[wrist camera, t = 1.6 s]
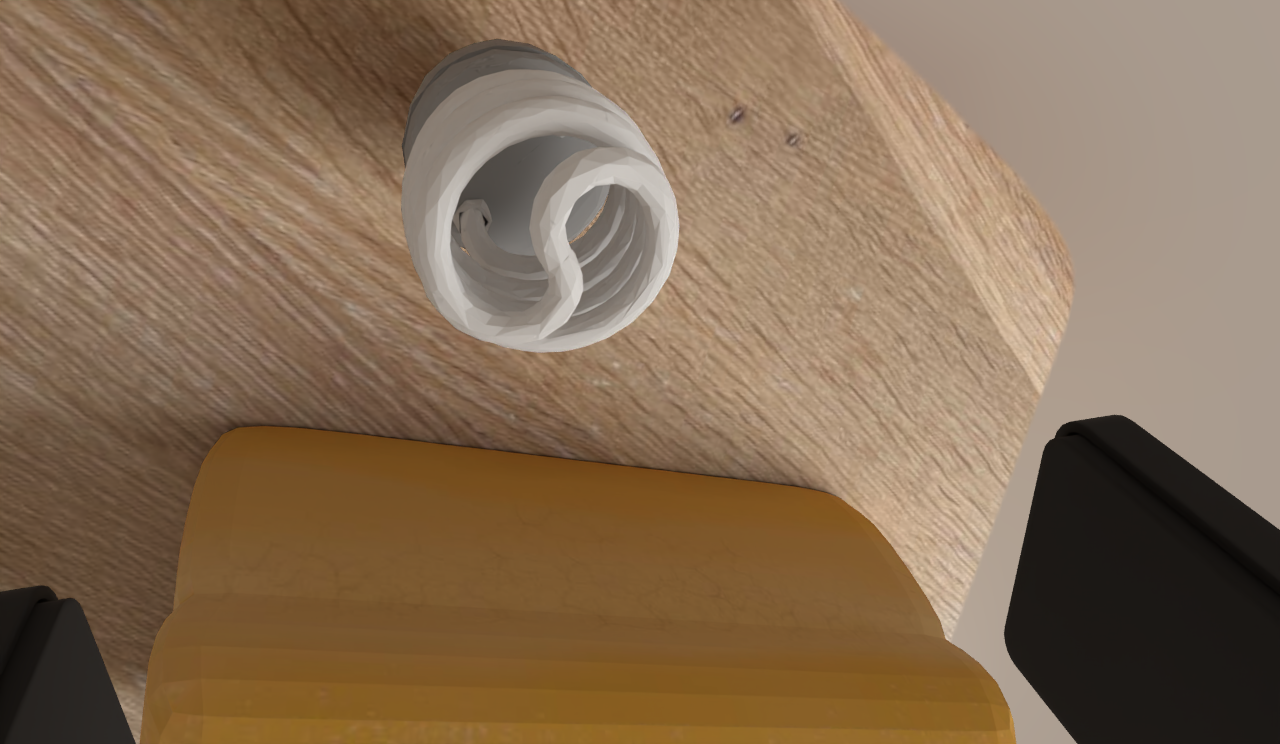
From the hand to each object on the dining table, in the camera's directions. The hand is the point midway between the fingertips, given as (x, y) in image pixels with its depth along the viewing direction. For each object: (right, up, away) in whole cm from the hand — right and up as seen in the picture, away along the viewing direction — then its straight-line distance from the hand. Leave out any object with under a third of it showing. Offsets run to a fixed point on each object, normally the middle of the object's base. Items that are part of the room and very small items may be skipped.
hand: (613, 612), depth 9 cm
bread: (-4, -6, +28) cm, 29 cm away
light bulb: (-4, +10, +19) cm, 22 cm away
